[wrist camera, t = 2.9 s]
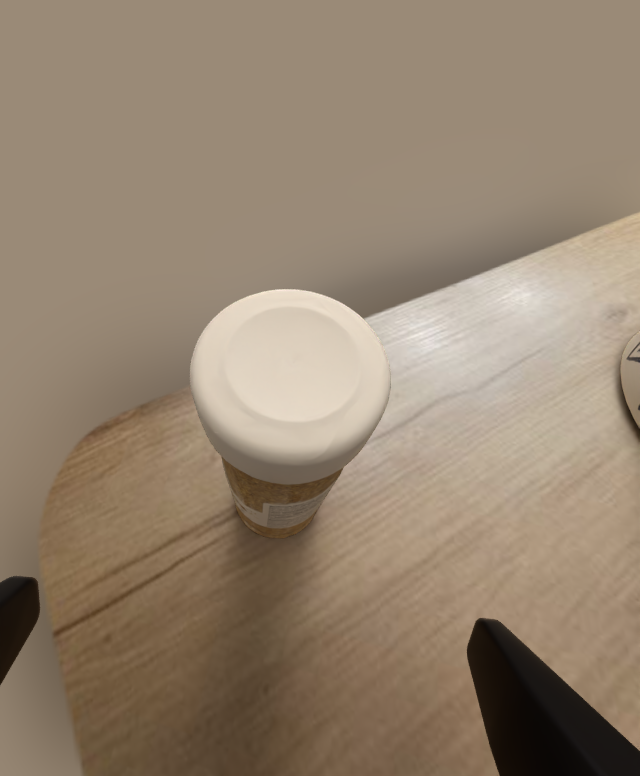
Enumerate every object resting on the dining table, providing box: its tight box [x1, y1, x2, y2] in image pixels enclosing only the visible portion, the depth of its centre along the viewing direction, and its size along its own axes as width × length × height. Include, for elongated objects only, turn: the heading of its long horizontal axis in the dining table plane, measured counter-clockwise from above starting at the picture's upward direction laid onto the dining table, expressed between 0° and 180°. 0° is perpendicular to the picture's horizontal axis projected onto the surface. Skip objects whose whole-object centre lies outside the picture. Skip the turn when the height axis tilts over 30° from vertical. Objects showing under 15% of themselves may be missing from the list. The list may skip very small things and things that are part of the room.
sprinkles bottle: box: [190, 289, 391, 538], centre depth 14 cm, size 5×5×14 cm
